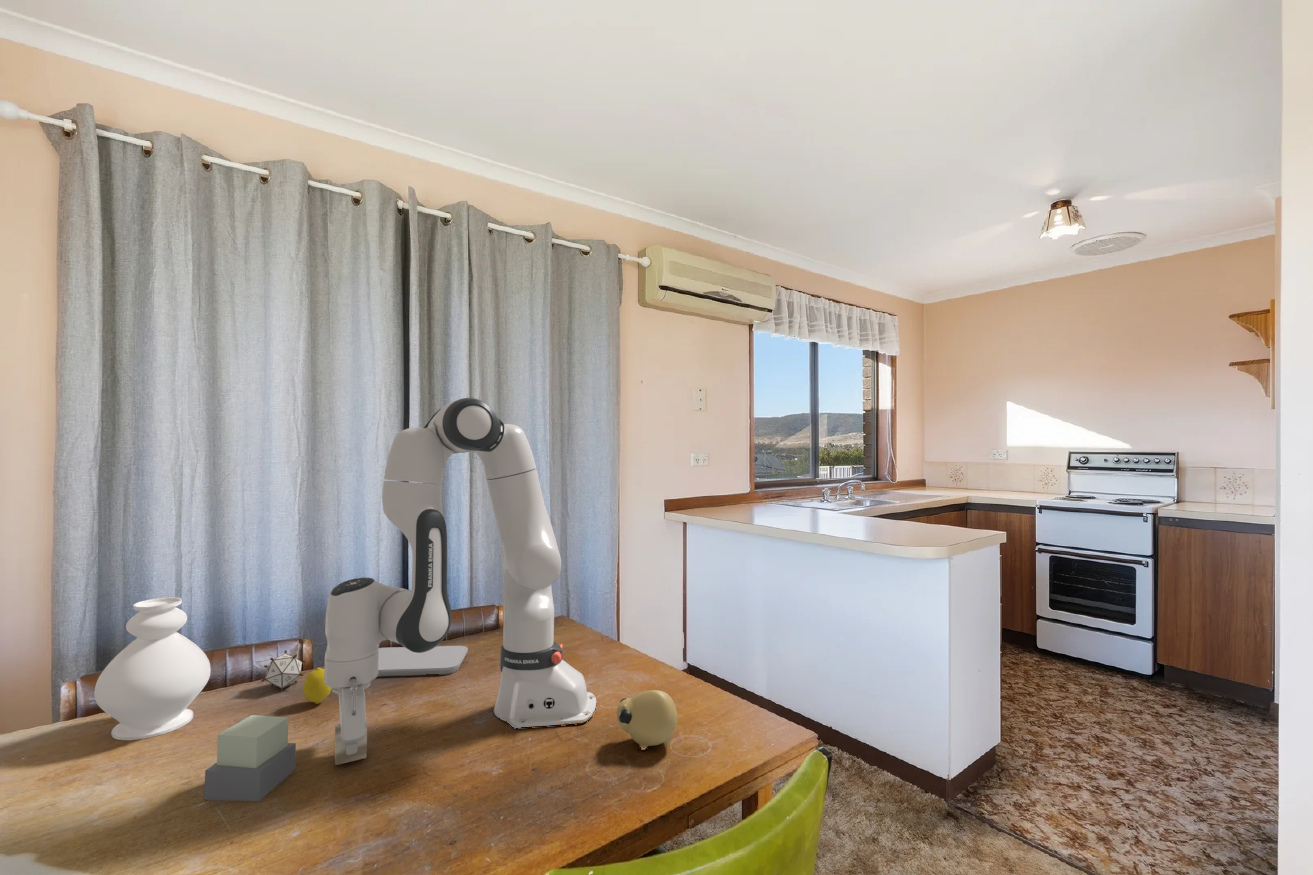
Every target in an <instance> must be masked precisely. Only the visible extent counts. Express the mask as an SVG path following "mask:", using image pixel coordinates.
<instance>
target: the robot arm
mask: <svg viewBox="0 0 1313 875" xmlns="http://www.w3.org/2000/svg"><path fill="white" fill-rule="evenodd" d="M471 452H474V453H475V454H476V456H478V457H479V459H480V460H481V462H482V465H483V467H484V468H483V469H484V473H485V478H486V484H487V488H488V492H489V498H490V501H491V502H490V503H491V505H492V509H493V514H494V518H495V521H496V524H497V527H498V532H499V535H500V538H501V543H502V553H501V565H502V566H501V569H502V570H501V571H502V572H501V573H502V598H503V601H502V602H503V626H502V627H503V630H502V631H503V636H502V639H503V640H502V645H501V646H500V653H499V654H500V655H499V667H500V668H499V669H500V672H501V673H500V674H501V676H500V681H499V688H498V693H497V698H496V700H495V705H494V707H493V713H494V715H495V717H497V718H498V719H499V718H500V719H499V720H501V721H504V722H506V721H507V722H506V723H509V724H510V725H511V726H512V727H514V728H513V729H516V728H518V729H522V728H521V727H529V726H542V725H557V724H564V723H571V722H574V723H575V722H582V721H586V720H587V719H588V718H589V717H591V716H592V714H593V712H594V711H595V708H596V709H597V707H596V703H597V698H596V696H595V694H594V693H593V692H590V691H587V684H586V681H585V677H584V675H583V674H582V673H581V672H580V671H579V670H577V669H575V668H574V667H573V666H571V664H569V663H568V662H566V661H565V660H564V659H563V650H564V649H563V643H561V644H558V643H557V642H555V641H554V640H555V639H554V638H555V637H554V634H555V633H554V632H555V604H554V598H553V589H552V585H553V584H554V583H555V582H556V581H557V580H558V578H559V577H560V574H561V571H562V558H561V554H560V549H559V547H558V543H557V539H556V536H555V533H554V532H555V531H554V529H553V526H552V522H551V520H550V516H549V513H548V511H547V507H546V503H545V499H544V495H543V491H542V487H541V486H542V485H541V483H540V477H539V473H538V469H537V465H536V460H535V457H534V453H533V450H532V448H531V445H530V443H529V440H528V437H527V435H526V433H525V431H524V430H523V429H522V428H521V427H520V426H518V425H516V424H512V423H504V422H503V420H501V419H500V417H498V415H497V414H496V412H495V411H494V410H493V408H491V406H490V405H488V404H487V403H486V402H484V401H483V400H480V399H478V398H474V397H463V398H459V399H456V400H453V401H450V402H448V403H446V404H445V405H443V406H442V407H441V408H439V409H438V410H437V411H436V412H435V413H434V414H433V415H432V416H431V418H430V419H429V420H428V422H427V423H426V424H425V426H423V427H408V428H405V429H403V430H401V431H399V432H398V433H396V435H395V436H394V438H393V441H392V443H391V446H390V450H389V453H388V456H387V460H386V461H387V462H386V465H385V469H384V470H385V471H384V476H383V483H382V484H383V485H382V489H381V490H382V492H381V502H382V509H383V513H384V515H385V516H386V518H387V519H388V520H389V521H390V523H391V524H393V525H394V526H396V528H397V529H398V530H400V532H401V533H402V534H403V535H404V536H405V538H406V539H407V541H408V543H409V545H410V549H411V552H412V553H411V556H412V561H411V562H412V565H411V567H412V568H411V569H412V570H411V571H412V572H411V590H410V589H406V588H403V587H395V586H390V585H387V584H385V583H381V582H379V581H377V580H375V579H374V578H372V577H365V576H363V577H358V578H353V579H352V578H351V579H349V580H346V581H343V582H341V583H339V584H337V585H336V586H335V587H334V588H333V589H332V590H331V592H330V593H329V595H328V596H329V597H328V599H327V604H326V610H325V625H324V627H325V628H324V629H325V630H324V634H325V638H326V643H327V644H326V645H327V646H326V650H325V653H324V668H323V669H324V670H325V672H324V683H325V685H327V686H329V687H332V688H331V691H332V692H333V693H334V694H336V695H338V696H337V697H338V703H339V704H338V705H339V706H338V707H339V724H340V727H341V741H342V743H346V754H347V755H351V754H355V753H356V752H357V745H358V741H359V740H362V739H364V737H365V730H366V727H367V721H366V717H367V716H366V711H367V710H366V709H367V708H366V693H365V690H367V689H368V688H370V686H371V685H372V681H374V680H375V679H376V678H377V677H379V676H378V659H379V648H380V644H381V642H384V641H387V640H389V641H391V642H393V643H397V644H398V645H401V647H405V648H407V649H408V650H410V651H412V652H416V653H423V652H427V651H429V650H431V649H433V648H434V647H436V646H439V645H440V644H441V642H442V641H443V640H445V638H446V636H447V635H448V633H449V631H450V628H451V625H452V621H453V613H452V609H451V608H452V607H451V604H450V600H449V597H448V596H449V595H448V533H447V524H446V523H447V522H446V520H445V517H444V513H443V505H442V504H443V502H442V498H443V496H442V494H443V482H444V469H445V468H446V464H447V462H448V460H449V458H450V457H451V456H452V455H453V454H466V453H471ZM590 698H592V699H590ZM595 712H596V711H595ZM586 714H587V715H586ZM509 724H508V725H509ZM510 725H509V726H510ZM511 726H510V727H511ZM512 727H511V728H512Z"/></svg>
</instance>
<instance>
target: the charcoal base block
mask: <svg viewBox="0 0 1313 875" xmlns="http://www.w3.org/2000/svg"><path fill="white" fill-rule="evenodd" d="M296 746H297V744H296V742H288V746H287V747H286V748H284V749H283V750H281V751H280V752H278V753H277V754H276V755H274V756H273V757H271V758H270V759H268V760H267V761H266V762H264V763H263V764H261V765H260V766H258V767H257V768H247V767H235V766H223V765H217V762H215V763H214V764H212V765H210V766H209V767H208V768H207V769H205V771H204V792H203V793H204V797H203V798H204V801H205V800H206V801H233V802H236V801H238V802H242V801H243V802H260V801H261V800H263V799H264V798H265V796H267V795H268V794H269V793H270V792H271V791H273V790H274V789H275V788H277V786H279V784H281V782H283V781H284V780H285V779H287V777H289V775H291V774H292V773H293V772H294V771H295V770H296V751H297V750H296V748H297V747H296Z"/></svg>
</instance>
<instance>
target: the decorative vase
mask: <svg viewBox="0 0 1313 875" xmlns="http://www.w3.org/2000/svg"><path fill="white" fill-rule="evenodd" d="M182 602H183V599H182V598H181V597H177V596H176V597H175V596H174V597H173V596H172V597H170V596H169V597H159V598H158V597H157V598H150V599H147V600H142V601H138V602H135V603H134V604H133V606H132V607H133V608H132V609H133V610H134V611H136V612H137V613H136V614H134V615H133V616H132V617H130V618H129V620H128V621H127V622H126V624H125V629H126V631H127V632H128V633H129V634H130V635H132V636H134V637H136V638H134V640H132V641H131V642H130V643H129V644H128V645H126V646H125V647H124V648H123V649H122V650H121V651H120V652H118V653H117V655H116V656H114V658H112V659H111V661H110V662H109V663H108V664H107V665H106V667H105V668H104V669H103V670H102V672H101V673H100V675H98V676H99V677H98V678H97V681H96V684H95V687H94V694H93V695H94V696H93V697H94V700H95V702H96V705H97V706H98V707H99V708H100V709H101V710H102V711H104V713H106V714H107V715H109V716H110V717H112V718H113V719H115V720H116V721H117V722H119V723H118V724H117V725H115V726H114V727H113V728H112V729H111V738H113V739H114V740H115V739H116V740H119V741H137V740H145V739H149V738H154V737H158V736H161V735H165V734H167V733H170V732H173V731H175V730H176V731H177V729H180V728H182V727H184V726H185V725H187V724H188V723H190V722H191V721H192V720H193V718H194V711H193V710H192V709H189V708H188V706H190V704H191V703H192V702H193V701H194V700H195V699H196V698H197V697H198V695H199V694H200V693H201V692H202V690H203V689H204V688H205V686H206V685H207V684H208V681H209V679H210V677H211V670H212V669H211V663H210V660H209V657H207V654H206V653H205V652H204V651H203V649H201V648H200V647H199V645H197V644H196V643H195V642H193V641H192V640H190V639H188V637H186V636H184V635H183V634H181V633H179V632H178V631H179V630H180V629H181V628H182V627H183V626H184V625H185V624H186V623H187V620H188V615H187V613H186V612H185V611H183V610H182V609H180V608H178V607H177V606H180V605H182Z"/></svg>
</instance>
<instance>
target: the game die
mask: <svg viewBox="0 0 1313 875" xmlns="http://www.w3.org/2000/svg"><path fill="white" fill-rule="evenodd" d="M297 657H298V654H294V655H291V654H289V653H288V650H287V649H285V650H284V653H283V654H281V655H278V656H277V657H275V658H273V657H270V662H269V663H268V665H265V664H264V668H266V671H265V676H264V678H262V679H261V680H260V683H261V682H265V681H266V682H268V683H270V684H271V685H270V687H271V688H272V687H274V686H275V687H278V688H280V692H281V693H283V692H284V688H286V687H288V686H289V685H291V684H293V683H294V684H298V680H297V679H299V677H303V676H304V673H302V666H303V663H305V662H306V661H307V660H305V659H303V660H300V659H298V658H297Z"/></svg>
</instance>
